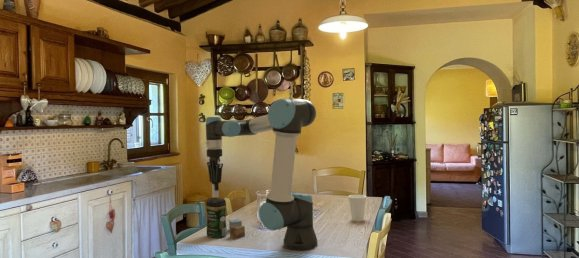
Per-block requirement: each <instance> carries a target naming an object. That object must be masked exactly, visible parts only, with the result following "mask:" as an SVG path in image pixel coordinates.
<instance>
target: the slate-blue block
mask: <svg viewBox="0 0 579 258" xmlns="http://www.w3.org/2000/svg"><path fill="white" fill-rule="evenodd" d="M228 220H229V221H228V225H229V227H228V228H229V231H230V227H232V226H235V225H241V226H243V223H242V222H243V221H242V220H241V219H239V218H236V219H228Z"/></svg>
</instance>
